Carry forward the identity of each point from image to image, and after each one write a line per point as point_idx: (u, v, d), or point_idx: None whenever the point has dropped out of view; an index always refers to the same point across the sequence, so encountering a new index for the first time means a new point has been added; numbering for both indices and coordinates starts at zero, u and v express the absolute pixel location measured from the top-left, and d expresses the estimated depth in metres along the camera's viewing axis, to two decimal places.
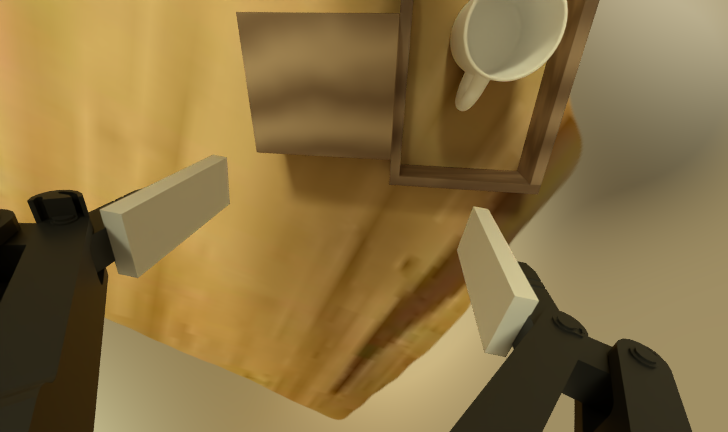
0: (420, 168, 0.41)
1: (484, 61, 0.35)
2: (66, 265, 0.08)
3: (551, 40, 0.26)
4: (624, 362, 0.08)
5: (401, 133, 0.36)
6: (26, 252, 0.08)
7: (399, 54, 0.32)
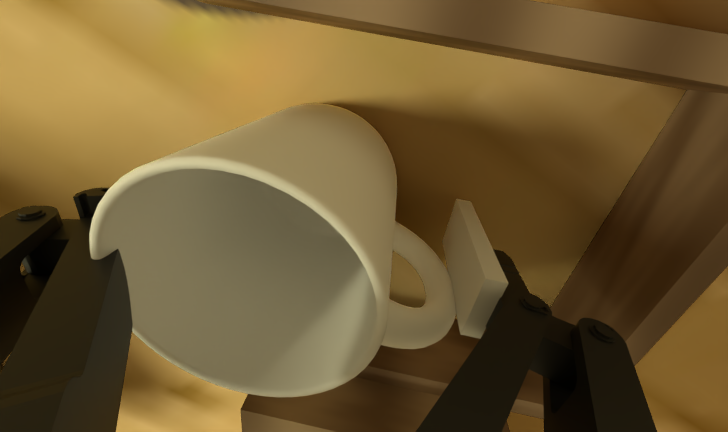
0: None
1: None
2: (102, 260, 0.08)
3: None
4: (585, 340, 0.08)
5: None
6: (69, 245, 0.08)
7: None
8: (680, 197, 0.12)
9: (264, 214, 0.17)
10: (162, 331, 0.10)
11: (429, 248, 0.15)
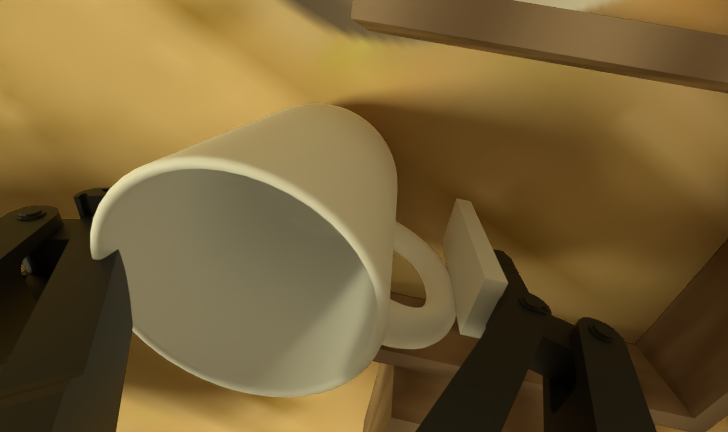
0: (676, 331, 0.19)
1: None
2: (103, 260, 0.08)
3: None
4: (585, 339, 0.08)
5: None
6: (69, 245, 0.08)
7: (448, 376, 0.18)
8: None
9: (264, 214, 0.17)
10: (163, 331, 0.10)
11: (429, 248, 0.15)
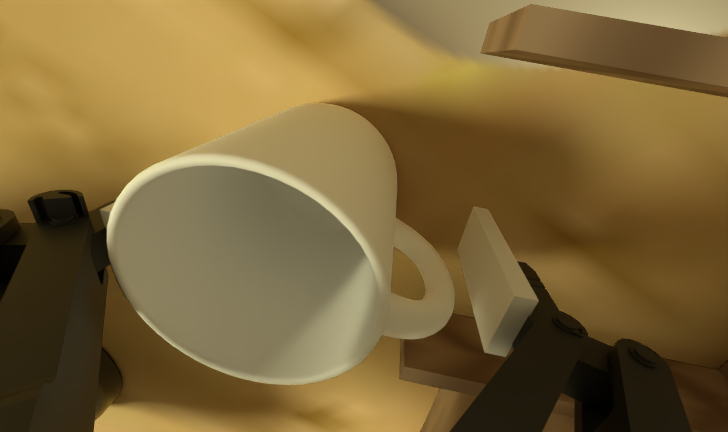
0: None
1: None
2: (66, 265, 0.08)
3: None
4: (624, 362, 0.08)
5: None
6: (26, 252, 0.08)
7: None
8: None
9: (267, 211, 0.17)
10: (173, 322, 0.10)
11: (428, 244, 0.15)
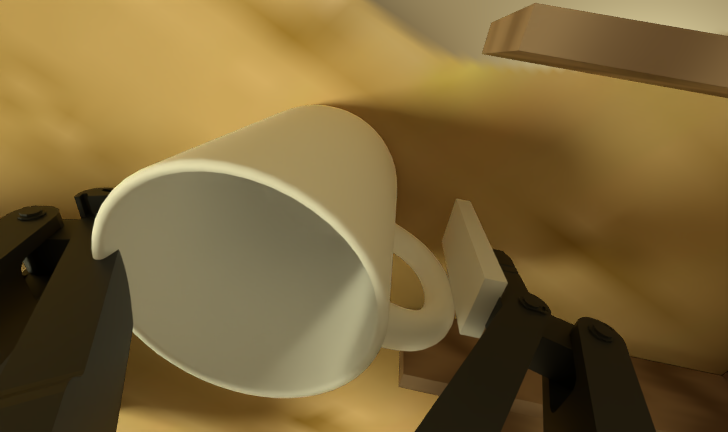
0: None
1: None
2: (103, 260, 0.08)
3: None
4: (584, 339, 0.08)
5: None
6: (69, 245, 0.08)
7: None
8: None
9: (263, 214, 0.17)
10: (162, 331, 0.10)
11: (428, 250, 0.15)
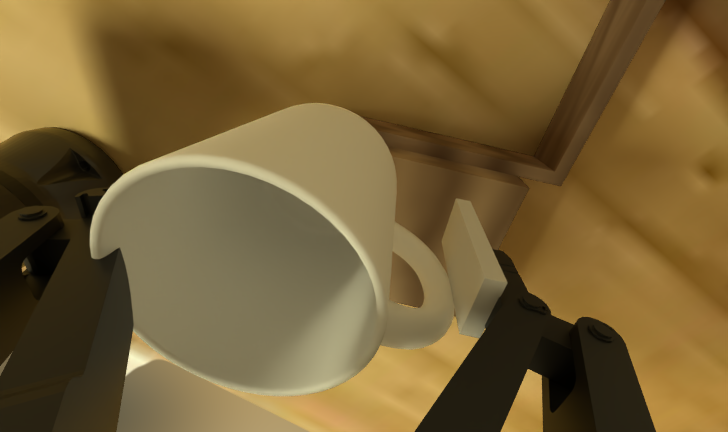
0: (552, 132, 0.29)
1: None
2: (104, 260, 0.08)
3: None
4: (584, 339, 0.08)
5: (497, 159, 0.28)
6: (70, 245, 0.08)
7: (407, 148, 0.28)
8: (618, 23, 0.24)
9: (263, 213, 0.17)
10: (161, 329, 0.10)
11: (428, 249, 0.15)
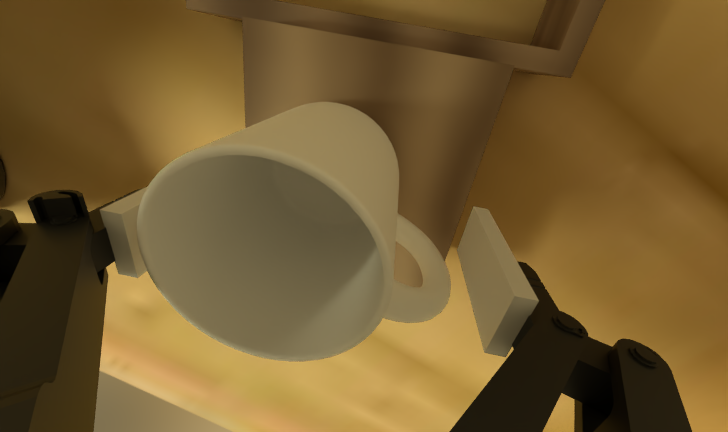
0: (554, 0, 0.19)
1: None
2: (66, 265, 0.08)
3: None
4: (624, 362, 0.08)
5: (463, 36, 0.17)
6: (25, 252, 0.08)
7: (320, 28, 0.18)
8: None
9: (274, 203, 0.18)
10: (190, 300, 0.11)
11: (427, 238, 0.16)
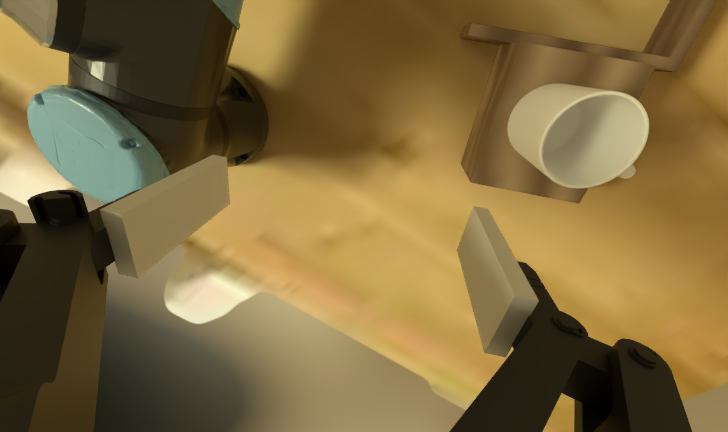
0: (662, 30, 0.35)
1: (567, 124, 0.34)
2: (66, 265, 0.08)
3: (618, 97, 0.25)
4: (624, 362, 0.08)
5: (620, 50, 0.33)
6: (25, 252, 0.08)
7: None
8: None
9: None
10: None
11: None
